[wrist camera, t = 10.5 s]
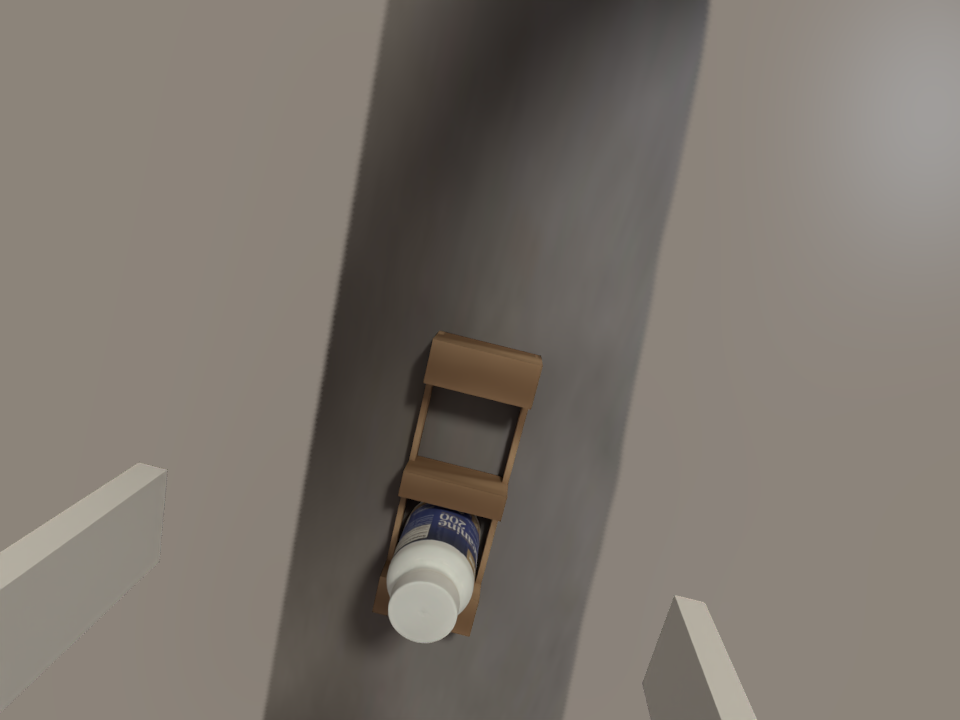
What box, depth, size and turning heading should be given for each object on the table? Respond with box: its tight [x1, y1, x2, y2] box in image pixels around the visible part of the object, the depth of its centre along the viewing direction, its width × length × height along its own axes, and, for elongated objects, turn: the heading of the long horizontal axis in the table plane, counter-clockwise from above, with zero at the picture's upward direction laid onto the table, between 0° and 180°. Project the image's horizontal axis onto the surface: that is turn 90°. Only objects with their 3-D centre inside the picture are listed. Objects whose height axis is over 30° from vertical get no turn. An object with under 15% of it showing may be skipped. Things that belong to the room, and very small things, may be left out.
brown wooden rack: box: [372, 331, 543, 636], centre depth 40 cm, size 20×7×3 cm, turn 167°
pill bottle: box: [387, 502, 480, 643], centre depth 38 cm, size 5×5×10 cm
